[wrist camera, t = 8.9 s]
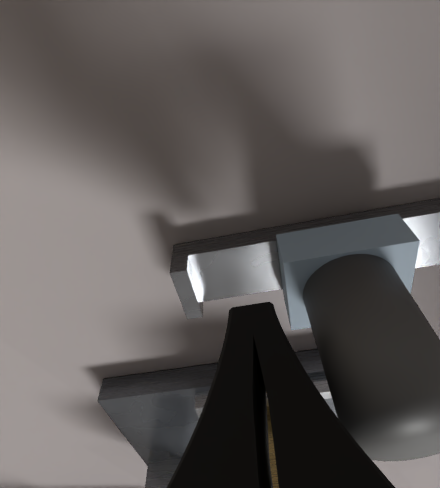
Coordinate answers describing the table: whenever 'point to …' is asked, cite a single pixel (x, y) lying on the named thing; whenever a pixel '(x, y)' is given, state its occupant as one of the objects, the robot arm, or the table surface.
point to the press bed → (173, 410)
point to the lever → (368, 331)
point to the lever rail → (275, 256)
